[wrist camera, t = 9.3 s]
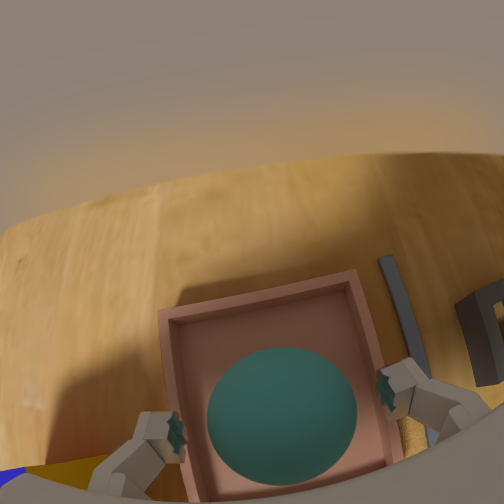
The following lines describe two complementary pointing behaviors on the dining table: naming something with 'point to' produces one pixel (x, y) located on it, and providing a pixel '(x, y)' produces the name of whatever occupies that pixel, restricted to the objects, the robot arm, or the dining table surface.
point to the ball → (282, 416)
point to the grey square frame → (483, 333)
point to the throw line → (407, 324)
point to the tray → (269, 336)
